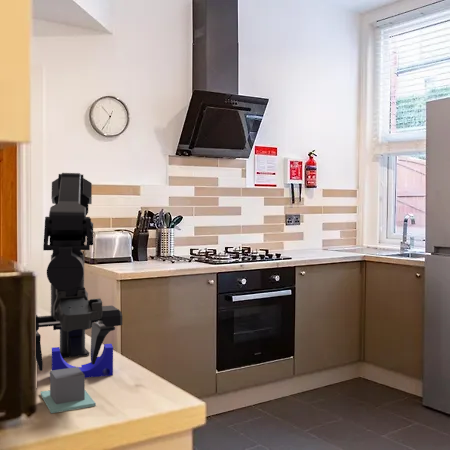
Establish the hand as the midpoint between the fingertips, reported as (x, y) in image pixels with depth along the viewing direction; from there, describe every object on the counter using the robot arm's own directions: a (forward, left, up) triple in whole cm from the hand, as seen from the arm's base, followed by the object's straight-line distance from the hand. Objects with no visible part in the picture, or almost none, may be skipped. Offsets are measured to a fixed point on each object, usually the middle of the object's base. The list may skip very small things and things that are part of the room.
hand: (67, 367), depth 99 cm
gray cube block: (0, 0, -6) cm, 6 cm away
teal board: (0, 0, -6) cm, 6 cm away
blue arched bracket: (-13, +6, -6) cm, 16 cm away
